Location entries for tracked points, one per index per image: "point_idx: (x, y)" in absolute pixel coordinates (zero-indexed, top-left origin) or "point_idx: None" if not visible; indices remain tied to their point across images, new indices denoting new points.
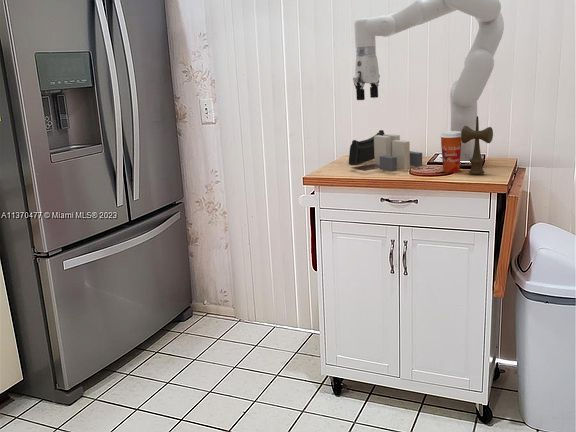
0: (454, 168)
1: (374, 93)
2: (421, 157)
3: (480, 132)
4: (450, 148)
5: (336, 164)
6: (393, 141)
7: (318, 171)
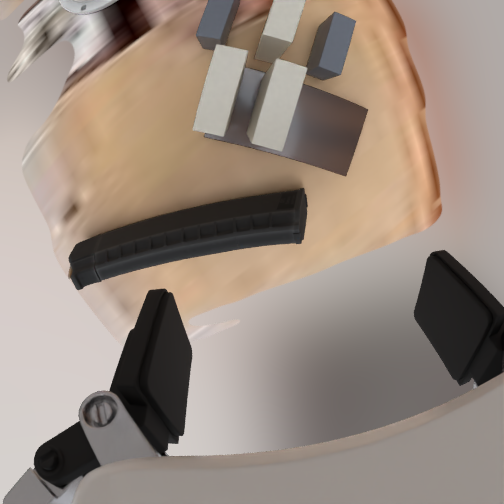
0: None
1: (172, 345)
2: None
3: None
4: None
5: (272, 273)
6: (294, 35)
7: (372, 249)
